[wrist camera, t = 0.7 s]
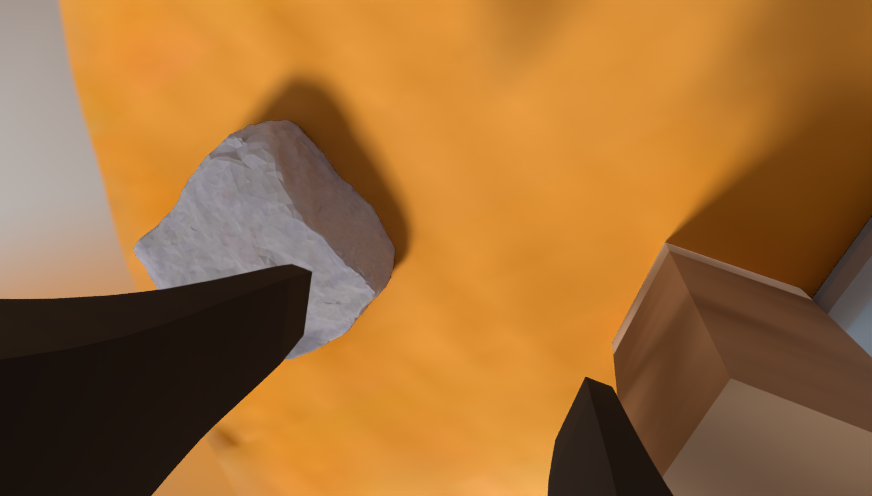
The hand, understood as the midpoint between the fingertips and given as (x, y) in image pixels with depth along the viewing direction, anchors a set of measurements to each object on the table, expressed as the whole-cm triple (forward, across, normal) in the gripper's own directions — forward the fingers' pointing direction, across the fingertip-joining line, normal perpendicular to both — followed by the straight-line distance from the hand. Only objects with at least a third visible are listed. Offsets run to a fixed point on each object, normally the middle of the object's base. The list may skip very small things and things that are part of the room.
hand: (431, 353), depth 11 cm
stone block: (+10, +10, +5) cm, 15 cm away
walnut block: (+9, -9, +1) cm, 13 cm away
